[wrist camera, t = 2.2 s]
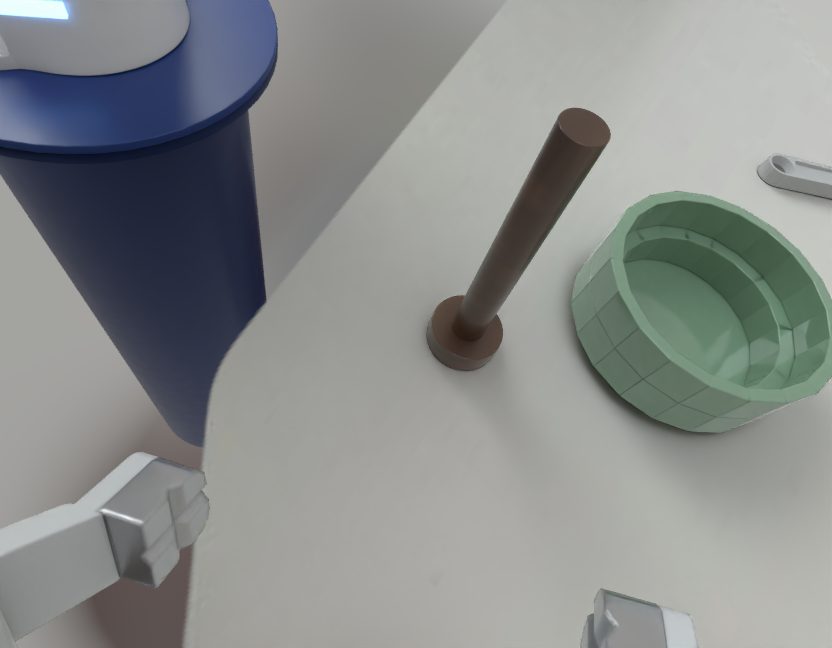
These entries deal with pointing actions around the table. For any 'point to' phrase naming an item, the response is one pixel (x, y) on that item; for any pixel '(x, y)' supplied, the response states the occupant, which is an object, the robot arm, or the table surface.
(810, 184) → the adjustable wrench
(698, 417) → the bowl
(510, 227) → the muddler
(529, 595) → the table surface
